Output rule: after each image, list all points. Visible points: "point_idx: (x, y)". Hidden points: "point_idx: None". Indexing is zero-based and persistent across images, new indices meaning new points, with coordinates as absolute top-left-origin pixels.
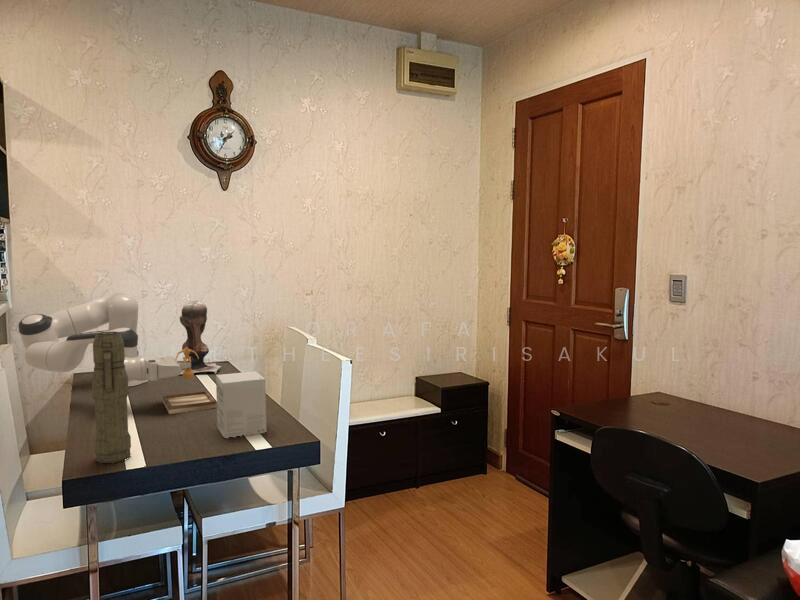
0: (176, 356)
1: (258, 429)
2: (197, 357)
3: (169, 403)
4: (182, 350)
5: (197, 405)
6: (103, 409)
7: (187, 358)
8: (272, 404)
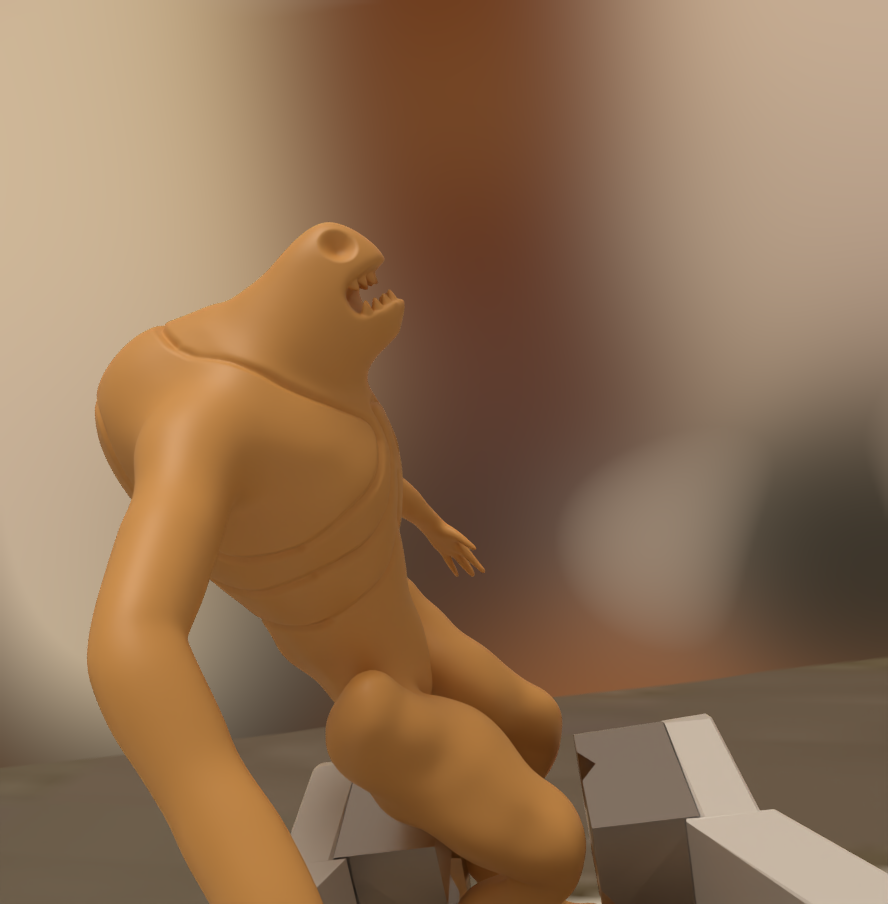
0: (275, 887)
1: None
2: (462, 538)
3: None
4: (219, 422)
5: None
6: None
7: (434, 671)
8: (824, 667)
